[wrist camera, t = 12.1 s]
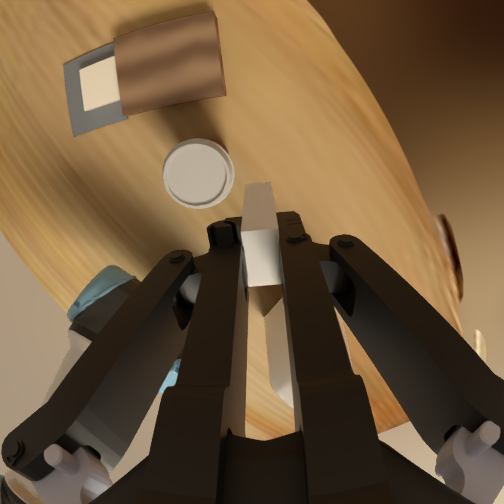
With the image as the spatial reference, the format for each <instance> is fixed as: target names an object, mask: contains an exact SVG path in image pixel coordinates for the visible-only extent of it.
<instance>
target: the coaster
mask: <svg viewBox="0 0 504 504" xmlns="http://www.w3.org/2000/svg"><path fill="white" fill-rule="evenodd" d="M79 72H80V81H81V90H82V98H83V105H84V111H89V110H92V109H95V108H98V107H101V106H104V105H107V104H110V103H113V102H116V101H119V100H120V95H119V87H118V80H117V72H116V63H115V56H113V57H110V58H107V59H105V60H102V61H100V62H97V63H95V64H92V65H90V66H87V67H85V68H83V69H81V70H79Z"/></svg>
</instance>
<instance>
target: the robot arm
mask: <svg viewBox="0 0 504 504" xmlns="http://www.w3.org/2000/svg"><path fill="white" fill-rule="evenodd" d="M207 233H208V238H209V243H210V248H209V252H208V253H207V254H204V255H201V256H198V257H194V258H193V256H192V253H191V252H190V251H188V250H176V251H172V252H171V253H169V254H167V255H166V256H164V257H163V258H162V259H161V260H160V262H159V263H158V264H157V265H156V266H155V267H154V268H153V269H152V271H151V272H150V273H149V274H148V275H147V276H146V277H145V278H144V280H143V281H142V282H140V281H139V280H138V279H136V277H135V276H132V275H130V274H129V273H127V272H126V271H124V270H123V269H121V268H120V267H118V266H115V265H110V266H107V267H105V268H104V269H103V270H101V271H100V272H99V273H98V274H97V275H96V276H95V277H94V278H93V279H92V280H91V282H90V283H89V284H88V285H87V286H86V287H85V288H84V290H83V291H82V292H81V293H80V295H79V296H78V297H77V300H75V302H74V303H73V304H72V306H71V307H70V309H69V311H68V313H67V317H68V318H69V321H71V322H73V323H72V325H71V326H70V328H69V330H68V337H69V340H70V349H69V351H68V352H67V354H66V356H65V358H64V360H63V362H62V364H61V366H60V368H59V370H58V372H57V374H56V376H55V378H54V380H53V382H52V384H51V386H50V388H49V390H48V392H47V394H46V397H45V399H44V401H43V403H42V405H41V407H40V408H39V409H38V410H37V411H36V412H34V413H33V414H32V415H31V416H30V417H28V418H27V419H26V420H25V421H24V422H22V423H21V424H20V425H19V426H18V427H16V428H15V429H14V430H13V431H12V432H10V433H9V434H8V436H7V437H6V438H5V440H4V442H3V444H2V452H1V453H2V458H3V461H4V463H5V464H6V466H7V467H9V468H10V469H12V470H8V471H7V472H6V473H5V476H3V475H0V504H493V502H494V500H495V499H496V497H497V496H498V494H499V492H500V491H501V489H502V487H503V485H504V380H503V379H501V378H500V377H498V376H497V375H495V374H494V373H493V372H492V371H491V370H490V368H489V367H488V366H487V365H486V364H485V362H484V361H483V360H482V359H481V358H480V357H479V356H478V354H477V353H476V352H475V351H474V350H473V349H472V348H471V347H470V346H469V344H468V343H467V342H466V341H465V340H464V339H463V338H462V337H461V336H460V335H459V333H458V332H457V331H456V330H455V329H454V328H453V327H452V326H451V325H450V324H449V323H448V322H447V321H446V320H445V319H444V318H443V317H442V316H441V315H440V314H439V313H438V312H437V311H436V310H435V309H434V308H433V307H432V306H431V305H430V304H429V303H428V302H427V301H426V300H425V299H424V298H423V297H422V296H421V295H420V294H419V293H418V292H417V291H416V290H415V289H414V288H413V287H412V286H411V285H410V284H409V283H408V282H407V281H406V280H405V279H403V278H402V277H401V276H400V275H399V274H398V273H397V272H396V271H395V270H394V269H393V268H392V267H390V266H389V265H388V264H387V263H386V262H385V261H384V260H383V259H382V258H380V257H379V256H378V255H377V254H376V253H375V252H374V251H372V250H371V249H370V248H369V247H368V246H367V245H366V244H364V243H363V242H362V241H361V240H360V239H358V238H356V237H354V236H351V235H346V234H343V235H338V236H335V237H333V238H331V239H330V242H329V245H325V244H318V243H314V242H312V239H311V237H310V236H309V234H307V233H305V230H304V227H303V224H302V221H301V218H300V215H299V214H297V213H296V212H294V211H291V212H279V213H276V210H275V204H274V199H273V193H272V187H271V182H265V183H255V184H246V189H245V197H244V206H243V215H242V217H233V218H226V219H225V220H222V221H217V222H215V223H212V224H211V225H209V226H208V227H207ZM247 283H248V285H247ZM277 284H282V297H283V304H284V312H285V321H286V331H287V341H288V351H289V361H290V371H291V382H292V394H293V405H294V417H295V432H294V433H291V434H288V435H285V436H281V437H278V438H274V439H271V440H266V441H261V440H255V439H250V438H246V436H245V406H246V371H247V336H248V303H249V292H248V287H252V286H265V285H277ZM334 307H335V308H336V310H337V311H338V313H339V314H340V315H341V317H342V318H343V320H344V321H345V323H346V324H347V326H348V327H349V328H350V330H351V331H352V333H353V334H354V336H355V337H356V339H357V340H358V342H359V343H360V345H361V346H362V347H363V349H364V350H365V352H366V353H367V355H368V356H369V358H370V359H371V361H372V362H373V364H374V365H375V367H376V368H377V370H378V371H379V373H380V374H381V376H382V377H383V379H384V380H385V382H386V383H387V385H388V387H389V388H390V390H391V391H392V393H393V394H394V396H395V397H396V399H397V400H398V402H399V404H400V405H401V407H402V408H403V410H404V411H405V413H406V415H407V416H408V418H409V419H410V421H411V423H412V424H413V426H414V427H415V429H416V430H417V432H418V433H419V434H420V436H421V438H422V439H423V440H424V442H425V443H426V444H427V445H428V446H429V447H430V448H431V449H432V450H433V451H434V452H435V453H436V454H437V459H436V466H435V472H436V474H437V475H438V476H439V477H442V478H443V479H444V481H445V484H446V485H445V484H443V483H442V482H440V481H439V480H437V479H436V478H434V477H432V476H431V475H430V474H428V473H427V472H425V471H424V470H422V469H421V468H420V467H418V466H416V465H415V464H414V463H412V462H411V461H410V460H408V459H407V458H405V457H404V456H403V455H401V454H400V453H398V452H397V451H396V450H394V449H393V448H392V447H390V446H389V445H387V444H386V443H384V442H382V441H380V440H379V439H378V435H377V431H376V426H375V422H374V418H373V414H372V410H371V407H370V403H369V399H368V395H367V392H366V388H365V385H364V382H363V379H362V377H361V376H360V375H355V374H354V373H353V370H352V366H351V363H350V359H349V355H348V352H347V348H346V345H345V341H344V338H343V335H342V331H341V328H340V324H339V321H338V318H337V315H336V311H335V308H334ZM158 392H160V393H161V394H163V395H162V398H161V402H160V406H159V411H158V415H157V419H156V424H155V429H154V433H153V438H152V442H151V447H150V452H149V455H148V456H147V457H146V458H145V459H143V460H142V461H141V462H140V463H139V464H138V465H137V466H135V467H134V468H133V469H132V470H130V471H129V472H128V473H127V474H126V475H124V476H123V477H122V478H121V479H119V480H118V481H117V482H116V483H114V484H113V483H112V481H111V480H110V479H109V473H110V472H111V471H112V470H113V468H115V466H116V465H117V464H118V463H119V461H120V460H121V459H122V457H123V456H124V454H125V452H126V451H127V449H128V447H129V446H130V444H131V442H132V440H133V438H134V436H135V434H136V433H137V431H138V429H139V427H140V425H141V423H142V421H143V419H144V418H145V416H146V414H147V412H148V410H149V408H150V406H151V405H152V403H153V401H154V399H155V397H156V395H157V394H158Z"/></svg>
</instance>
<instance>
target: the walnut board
mask: <svg viewBox="0 0 504 504" xmlns="http://www.w3.org/2000/svg"><path fill="white" fill-rule="evenodd" d="M113 42H114V53H115V63H116V72H117V80H118V87H119V95H120V101H121V108H122V114H123V117H124V116H129V115H134V114H138V113H142V112H145V111H149V110H153V109H158V108H162V107H166V106H171V105H176V104H180V103H185V102H191V101H196V100H202V99H208V98H214V97H221V96H227V95H226V87H225V79H224V71H223V63H222V55H221V47H220V39H219V31H218V23H217V17H216V15H215V13H214V11H213V12H207V13H201V14H196V15H191V16H187V17H182V18H178V19H174V20H170V21H166V22H162V23H158V24H155V25H152V26H148V27H145V28H142V29H139V30H136V31H133V32H130V33H127V34H124V35H121V36H119V37H116V38H113Z"/></svg>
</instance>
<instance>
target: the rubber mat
mask: <svg viewBox="0 0 504 504" xmlns="http://www.w3.org/2000/svg"><path fill="white" fill-rule="evenodd" d="M113 56H115V53H114V43H111V44H109V45H106V46H104V47H101V48H99V49H96V50H94V51H92V52H90V53H87V54H85V55H83V56H81V57H79V58H77V59H74V60H72V61H70V62H68V63H66V64H64V65H63V66H64V77H65V86H66V94H67V101H68V108H69V114H70V120H71V126H72V131H73V137H74V136H77V135H80V134H83V133H86V132H88V131H91V130H94V129H97V128H100V127H103V126H106V125H110V124H113V123H116V122H119V121H123V120H126V119H128V116H124V117H123V114H122V108H121V101H120V100H119V101H116V102H113V103H110V104H107V105H104V106H101V107H98V108H95V109H92V110H89V111H84V105H83V98H82V90H81V81H80V72H79V70H81V69H83V68H85V67H87V66H90V65H92V64H95V63H97V62H100V61H102V60H105V59H107V58H110V57H113Z"/></svg>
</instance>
